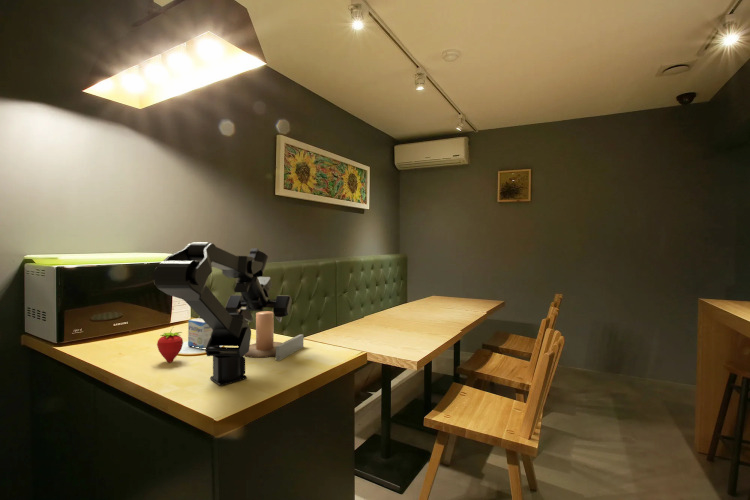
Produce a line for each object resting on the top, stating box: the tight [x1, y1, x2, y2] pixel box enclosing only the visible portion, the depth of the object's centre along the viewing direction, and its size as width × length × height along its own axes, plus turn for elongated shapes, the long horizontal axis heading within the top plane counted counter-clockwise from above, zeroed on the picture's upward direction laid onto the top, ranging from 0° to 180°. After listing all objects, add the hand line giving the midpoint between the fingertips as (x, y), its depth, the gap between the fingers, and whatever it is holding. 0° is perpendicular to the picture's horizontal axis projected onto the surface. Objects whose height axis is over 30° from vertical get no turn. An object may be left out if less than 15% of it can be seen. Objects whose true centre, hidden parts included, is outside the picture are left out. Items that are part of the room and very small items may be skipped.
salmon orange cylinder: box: [255, 310, 275, 350], centre depth 109 cm, size 5×5×11 cm
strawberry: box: [156, 326, 184, 364], centre depth 98 cm, size 6×8×10 cm
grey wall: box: [275, 334, 304, 361], centre depth 106 cm, size 14×1×4 cm, turn 163°
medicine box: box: [187, 317, 212, 348], centre depth 114 cm, size 8×4×9 cm, turn 62°
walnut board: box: [243, 341, 282, 359], centre depth 109 cm, size 14×14×1 cm
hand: (266, 320), depth 110 cm, fingers open, 9 cm apart
